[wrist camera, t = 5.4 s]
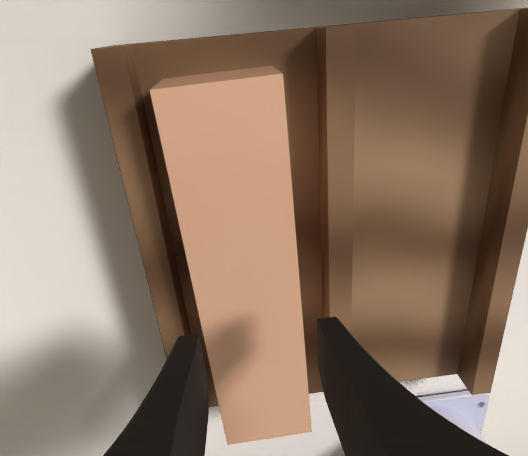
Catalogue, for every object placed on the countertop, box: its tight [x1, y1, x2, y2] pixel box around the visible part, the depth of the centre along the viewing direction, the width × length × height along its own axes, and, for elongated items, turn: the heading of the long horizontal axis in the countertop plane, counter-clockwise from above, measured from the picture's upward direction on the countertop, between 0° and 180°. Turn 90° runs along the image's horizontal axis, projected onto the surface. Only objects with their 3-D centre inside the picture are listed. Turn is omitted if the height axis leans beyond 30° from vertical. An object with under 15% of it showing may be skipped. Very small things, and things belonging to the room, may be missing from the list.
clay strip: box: [150, 65, 312, 445], centre depth 17 cm, size 16×4×3 cm, turn 6°
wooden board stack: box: [91, 8, 528, 407], centre depth 19 cm, size 18×16×3 cm
